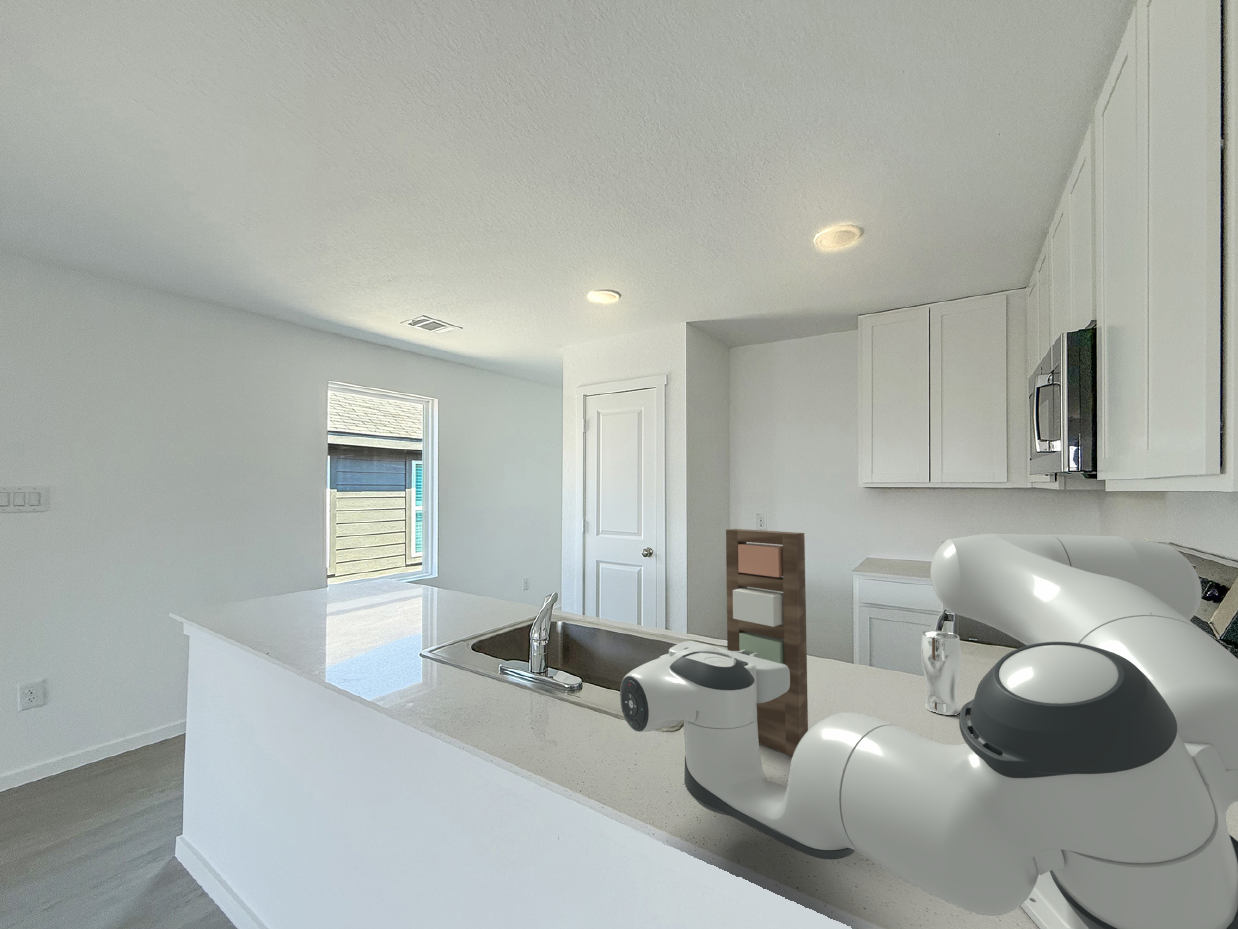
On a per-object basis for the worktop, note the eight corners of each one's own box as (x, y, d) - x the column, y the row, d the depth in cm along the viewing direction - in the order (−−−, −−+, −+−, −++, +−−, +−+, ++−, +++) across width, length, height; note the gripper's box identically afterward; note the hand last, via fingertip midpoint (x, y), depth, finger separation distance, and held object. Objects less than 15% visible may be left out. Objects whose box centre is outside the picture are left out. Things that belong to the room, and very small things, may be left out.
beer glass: (969, 718, 103) (967, 640, 103) (929, 715, 104) (927, 638, 105) (954, 704, 110) (952, 630, 110) (917, 701, 111) (915, 629, 112)
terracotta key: (778, 577, 91) (778, 547, 91) (738, 572, 96) (738, 544, 97) (790, 574, 93) (789, 546, 94) (750, 569, 99) (750, 542, 99)
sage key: (780, 672, 90) (779, 642, 90) (739, 661, 96) (739, 633, 96) (791, 667, 93) (791, 638, 93) (751, 656, 98) (751, 629, 99)
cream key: (773, 626, 89) (773, 596, 89) (733, 618, 95) (732, 590, 95) (785, 622, 92) (785, 593, 92) (745, 614, 97) (745, 587, 98)
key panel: (799, 759, 88) (795, 534, 89) (728, 731, 98) (726, 529, 99) (808, 753, 90) (804, 533, 91) (737, 726, 100) (735, 528, 101)
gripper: (653, 679, 89) (703, 661, 99) (760, 716, 75) (807, 690, 84) (653, 641, 90) (702, 626, 99) (760, 670, 75) (806, 650, 85)
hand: (751, 656), depth 92 cm, fingers closed
